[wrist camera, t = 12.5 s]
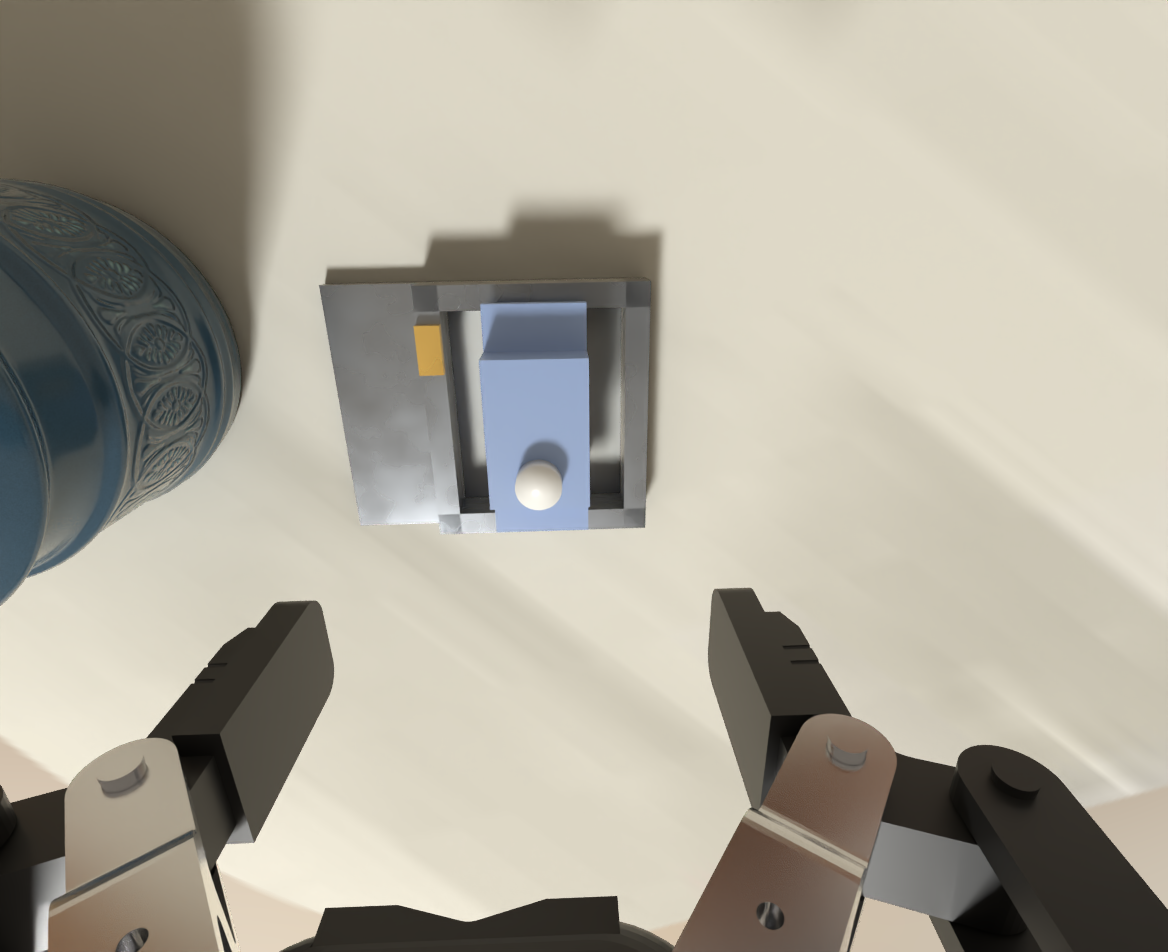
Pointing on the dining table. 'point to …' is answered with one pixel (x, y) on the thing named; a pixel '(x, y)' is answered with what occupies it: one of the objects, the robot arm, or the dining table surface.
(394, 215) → the dining table surface
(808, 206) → the dining table surface
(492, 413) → the block
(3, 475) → the canister
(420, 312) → the chassis plate
